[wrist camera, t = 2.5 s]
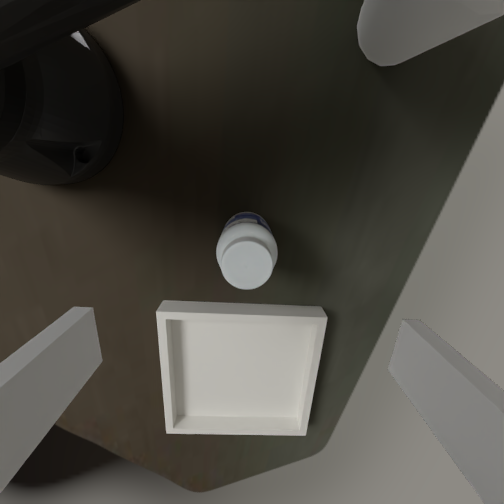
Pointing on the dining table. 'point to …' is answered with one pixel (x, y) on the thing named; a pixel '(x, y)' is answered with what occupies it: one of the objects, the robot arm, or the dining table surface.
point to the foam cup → (417, 25)
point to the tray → (238, 366)
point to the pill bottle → (246, 251)
